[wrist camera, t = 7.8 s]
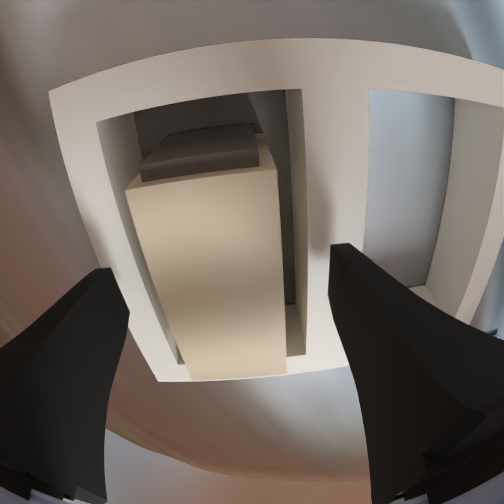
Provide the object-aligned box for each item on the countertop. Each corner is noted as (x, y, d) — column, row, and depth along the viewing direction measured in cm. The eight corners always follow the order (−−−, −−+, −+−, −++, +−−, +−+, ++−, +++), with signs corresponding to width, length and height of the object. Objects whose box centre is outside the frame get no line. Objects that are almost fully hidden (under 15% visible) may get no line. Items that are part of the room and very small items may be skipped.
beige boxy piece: (275, 295, 16) (286, 373, 12) (201, 302, 16) (192, 380, 12) (261, 120, 11) (275, 150, 7) (162, 133, 12) (120, 173, 7)
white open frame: (438, 299, 17) (462, 338, 14) (168, 333, 17) (158, 381, 15) (476, 68, 9) (527, 78, 6) (93, 82, 10) (48, 91, 7)
